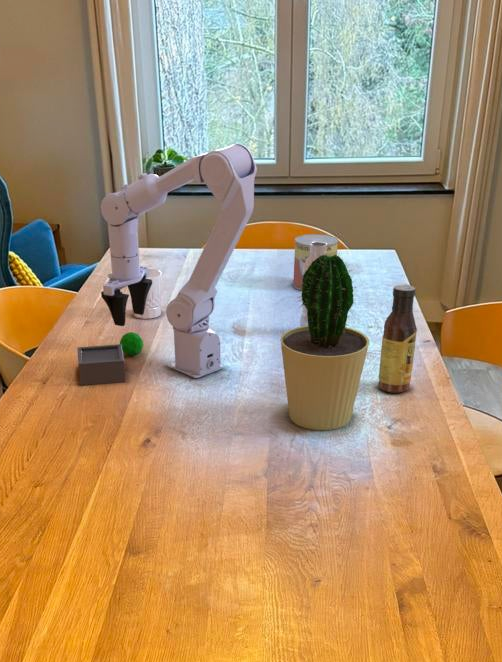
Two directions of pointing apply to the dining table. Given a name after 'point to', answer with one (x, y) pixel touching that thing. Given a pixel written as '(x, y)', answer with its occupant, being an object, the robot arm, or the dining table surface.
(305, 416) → the potted cactus
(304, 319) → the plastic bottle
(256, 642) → the dining table surface
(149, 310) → the white cup
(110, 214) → the robot arm
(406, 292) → the sauce bottle
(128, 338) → the polyhedron
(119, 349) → the grey box
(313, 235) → the canned food
